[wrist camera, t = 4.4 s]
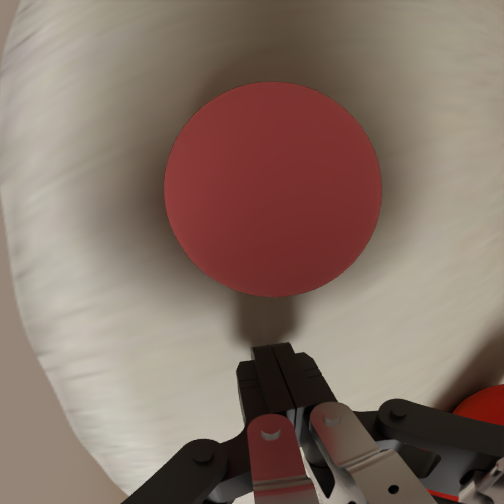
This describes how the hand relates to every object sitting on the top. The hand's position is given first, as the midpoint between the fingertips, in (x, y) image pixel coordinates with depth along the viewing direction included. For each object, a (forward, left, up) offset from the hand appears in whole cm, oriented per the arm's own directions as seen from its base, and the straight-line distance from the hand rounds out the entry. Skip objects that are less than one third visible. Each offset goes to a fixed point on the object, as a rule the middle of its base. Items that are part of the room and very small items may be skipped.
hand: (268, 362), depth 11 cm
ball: (-7, 0, +2) cm, 7 cm away
